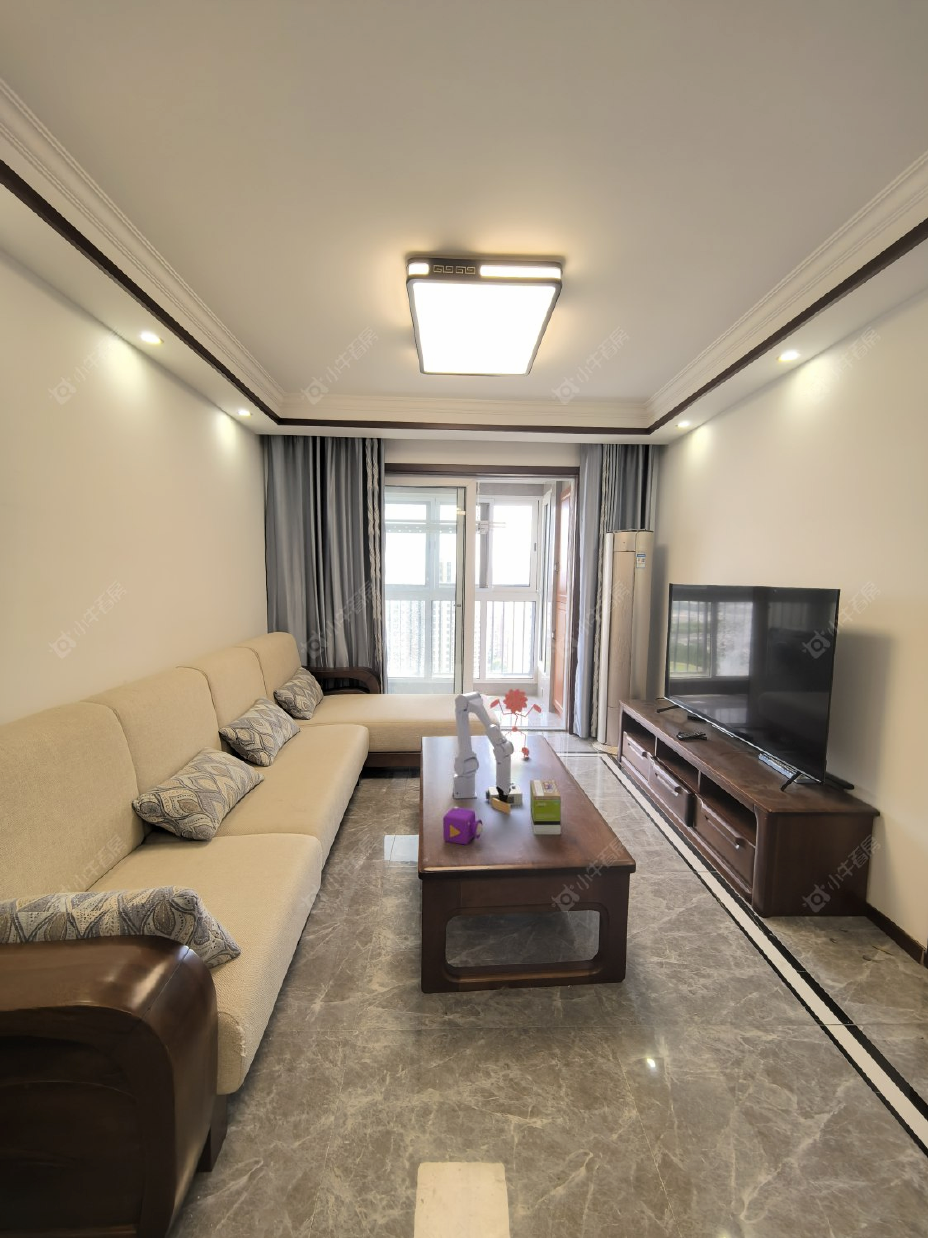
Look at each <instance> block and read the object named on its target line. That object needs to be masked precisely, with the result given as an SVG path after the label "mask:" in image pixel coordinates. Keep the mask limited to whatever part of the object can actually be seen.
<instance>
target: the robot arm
mask: <svg viewBox="0 0 928 1238" xmlns="http://www.w3.org/2000/svg"><path fill="white" fill-rule="evenodd" d="M454 704H455V710H454V713H455V722H456V723H455V724H456V733H457V742H458V743H457V744H458V753H457V754H456V756H455V757H454V764H453V768H454V771H455V774H453V776H452V783H453V784H452V792H453V793H452V794H453V797H454V799H472V798H473V799H475V798H476V799H477V798H478V795H477V791H476V773H477V771H478V770H479V768H480V762H479V760H478V756H477V753H476V752H475V751H473V747H472V737H471V735H472V734H471V725H470V717H469V716H470V715H469V714H471V713H472V714H475V715H476V717H477V718H478V719H479V721H480V723H481V724H482V725H483V727H484V728H485V735H486V737H487V739H488V740H489V742H490V743H491V745H492V747H493V749H492V752H493V754H494V758H495V759H494V760H495V762H496V763H495V769H496V770H495V771H496V773H495V779H496V781H495V787H496V789H497V791H498V794H499V800H500V801H502V802H505V803H507V798H508V795H509V793H510V791H511V788H510V786H514V781H512V777H511V776H512V774H511V770H512V768H511V766H512V764H511V763H512V758H511V757H512V755H513V753H514V752H515V747H514V745H513V742H512V741H511V740H508V738H507V737H506V736H505V735H504V734H503V733H502V731H501V728H500V726H499V725H496V724H493V721H492V719H491V718H490V715H489V714H488V712H487V710H486V708H485V705H484V698H483V697H482V695H481V694H480V692H479V691H476V690H475V691H471V692H467V693H462V694H459V695H457V697H456V698H455V699H454Z"/></svg>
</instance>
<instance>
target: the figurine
mask: <svg viewBox="0 0 928 1238" xmlns="http://www.w3.org/2000/svg"><path fill="white" fill-rule="evenodd" d="M525 695H526V692H525V691H523V690H522V691H521V690H520V689H519V688H517V689H515V690H514V689H512V688H509V691H508V693H505V694H504V699H503V700H502V703H503V704H504V705H505V709H506V710H510V712H507V713H506V712H505V713H504V709H503V707H502V704H501V702H500V699H499V698H497V699H495V700H493V701H492V702H491V703H490V705H489V708H490V709H493V708H495V707H496V706H497V705H498V704H499V707H500V710H501V713H502V715H504V716H505V715H515V716H516V718H515V723H514V726H513V727H512V728H511V730H510V731H508V732H507V733H505V736H506V735H508V734H509V733H511V732H512V731H513V732H520V733H521V734H523V735H524V743H526V739H527V734H525V733H524V732H523V731H521V730H520V729H518V727H517V726H516V725H517V721H518V717H519V716H521V717H524V718H527V716H529V714H530V713H531V711H532V710H533V709H534V710H535V711H536V712H538V713H540V714H541V713H542V708H541V707H540V706H539V705H537V704H536V703H534V704H533V705H532V707H531V708H530V710H529V711H528V712H527V713H526V715H523V714H519V713H522V712H523V708H524V709H526V708H528V704H527V702H528V700H529V698H527V696H525ZM517 712H518V713H517ZM523 746H524V747H521V750H520V752H521V753H522V754H523V760H524V761H526V756H527V757H529V755H530V749H529V748H528V747H526V744H524V745H523Z"/></svg>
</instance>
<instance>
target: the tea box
mask: <svg viewBox="0 0 928 1238" xmlns="http://www.w3.org/2000/svg"><path fill="white" fill-rule="evenodd" d="M529 787H530V788H529V791H530V793H529V794H530V797H529V799H530V800H529V801H530V804H529V805H530V806H529V807H530V819H531V826H532V830H533V835H561V834H562V833H561V832H562V831H561V829H562V828H561V825H562V823H561V822H562V821H561V820H562V819H561V818H562V817H561V816H562V814H561V813H562V812H561V811H562V809H561V808H562V806H561V805H562V804H561V803H562V801H561V798H562V797H561V793H560V791H559V788H558V785H557V782H556V780H555V779H553V780H552V779H548V780H547V779H546V780H545V779H544V780H541V779H538V780H537V779H535V780H532V779H530V780H529Z"/></svg>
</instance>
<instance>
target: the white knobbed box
mask: <svg viewBox="0 0 928 1238" xmlns="http://www.w3.org/2000/svg"><path fill="white" fill-rule="evenodd" d="M510 788H511V791H510V793H509V795H508V798H507V804H510V806H511V805H513V806H514V805H523V792H522V790H521V788H520V786H519V785H511V786H510ZM491 797H493V798H495V799H498V800H499V794H498V791H497V789H496V786H488V787H487V790H485V800H488V802H489V805H490V806H491Z"/></svg>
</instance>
